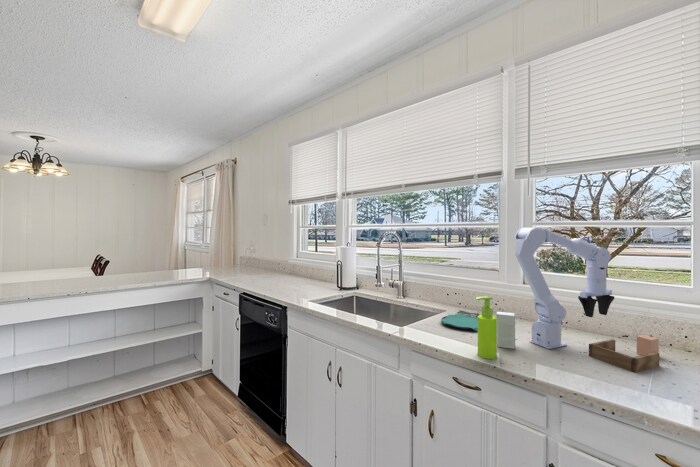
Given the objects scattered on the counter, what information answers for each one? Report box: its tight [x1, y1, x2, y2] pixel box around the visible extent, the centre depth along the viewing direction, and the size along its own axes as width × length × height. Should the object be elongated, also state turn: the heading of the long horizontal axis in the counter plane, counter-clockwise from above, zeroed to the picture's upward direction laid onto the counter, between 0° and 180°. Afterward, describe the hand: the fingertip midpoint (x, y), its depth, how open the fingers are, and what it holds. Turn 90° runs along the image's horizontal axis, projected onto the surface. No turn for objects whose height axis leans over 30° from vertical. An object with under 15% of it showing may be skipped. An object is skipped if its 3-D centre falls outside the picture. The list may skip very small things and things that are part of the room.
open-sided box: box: [588, 338, 660, 373], centre depth 101 cm, size 12×13×4 cm
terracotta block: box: [636, 334, 660, 356], centre depth 106 cm, size 4×4×6 cm
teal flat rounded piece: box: [440, 309, 482, 333], centre depth 144 cm, size 20×30×2 cm, turn 144°
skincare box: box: [496, 311, 516, 350], centre depth 114 cm, size 6×4×12 cm
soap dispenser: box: [474, 295, 498, 360], centre depth 106 cm, size 6×7×20 cm
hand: (596, 315), depth 116 cm, fingers open, 7 cm apart
